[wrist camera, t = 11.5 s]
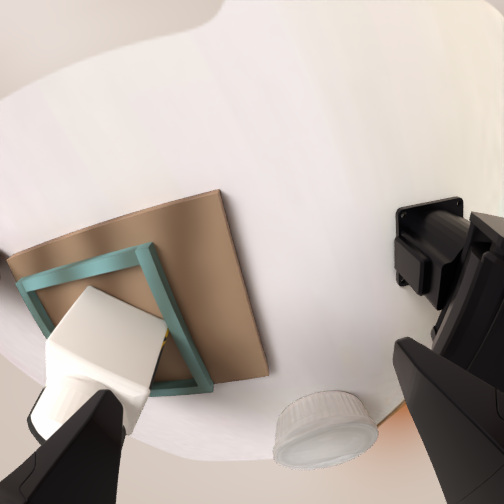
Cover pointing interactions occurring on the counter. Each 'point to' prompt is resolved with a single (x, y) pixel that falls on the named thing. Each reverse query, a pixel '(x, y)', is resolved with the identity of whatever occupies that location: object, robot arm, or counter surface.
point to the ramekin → (323, 431)
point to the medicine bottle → (98, 361)
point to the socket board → (157, 287)
